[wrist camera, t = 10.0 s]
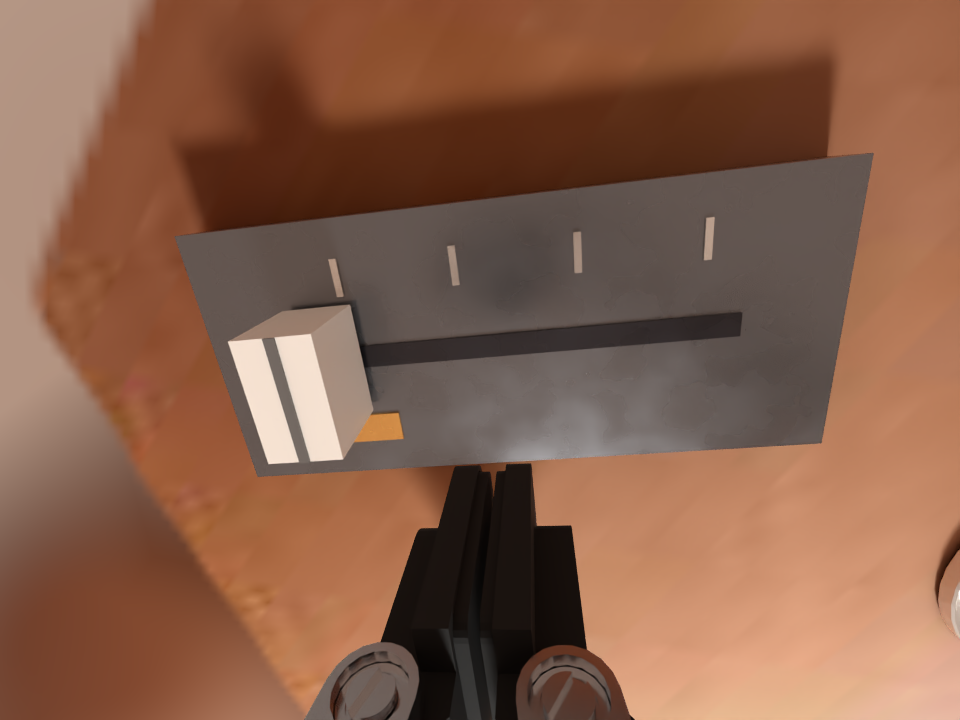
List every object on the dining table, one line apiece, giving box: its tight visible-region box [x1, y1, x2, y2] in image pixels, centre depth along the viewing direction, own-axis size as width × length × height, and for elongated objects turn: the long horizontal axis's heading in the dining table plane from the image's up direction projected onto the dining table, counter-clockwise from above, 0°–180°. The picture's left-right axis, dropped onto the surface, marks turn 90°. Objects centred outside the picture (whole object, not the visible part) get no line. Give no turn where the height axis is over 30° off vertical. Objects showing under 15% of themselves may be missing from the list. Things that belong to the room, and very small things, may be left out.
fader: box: [228, 305, 373, 464], centre depth 18 cm, size 3×5×4 cm, turn 7°
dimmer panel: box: [175, 153, 874, 477], centre depth 21 cm, size 27×12×3 cm, turn 97°
